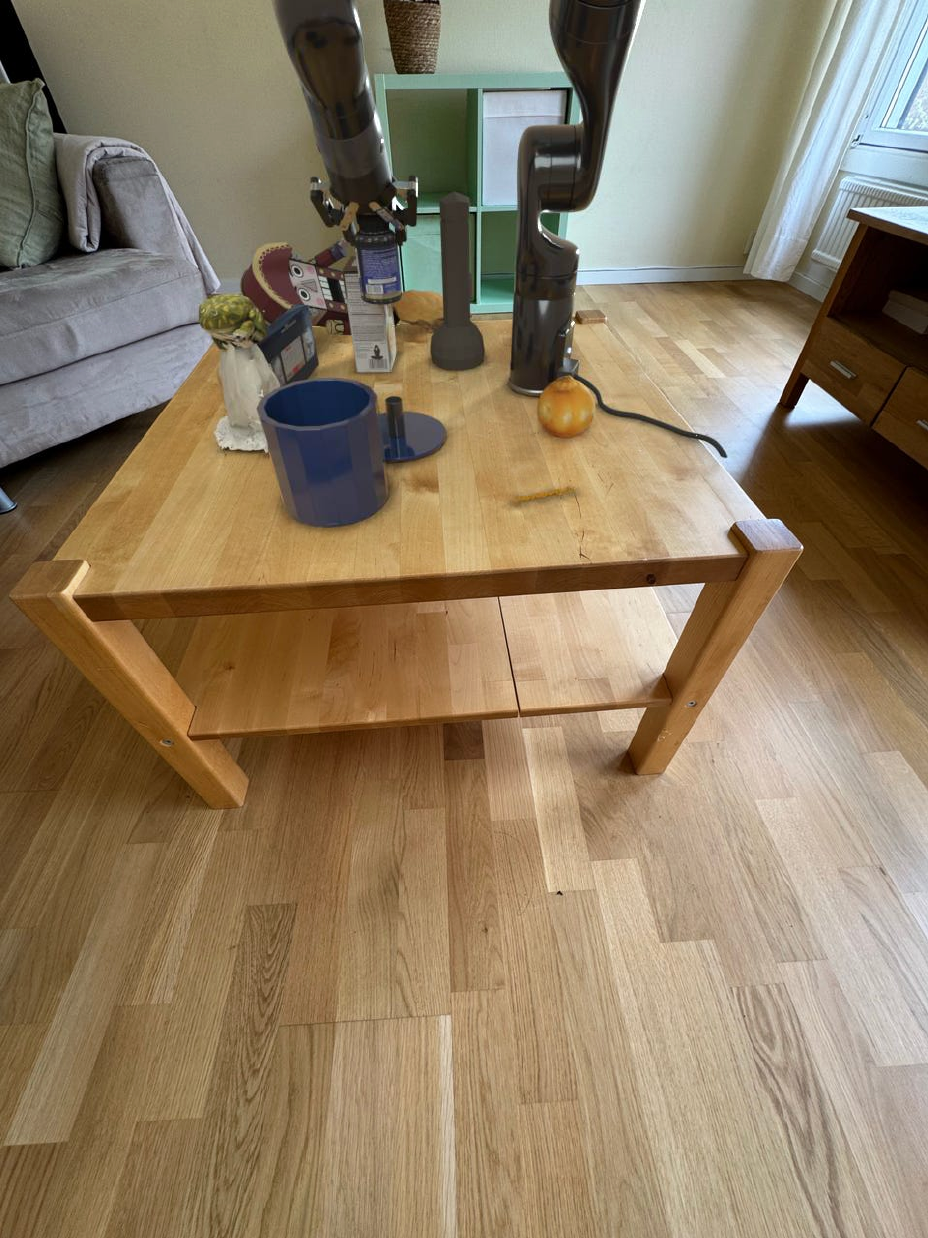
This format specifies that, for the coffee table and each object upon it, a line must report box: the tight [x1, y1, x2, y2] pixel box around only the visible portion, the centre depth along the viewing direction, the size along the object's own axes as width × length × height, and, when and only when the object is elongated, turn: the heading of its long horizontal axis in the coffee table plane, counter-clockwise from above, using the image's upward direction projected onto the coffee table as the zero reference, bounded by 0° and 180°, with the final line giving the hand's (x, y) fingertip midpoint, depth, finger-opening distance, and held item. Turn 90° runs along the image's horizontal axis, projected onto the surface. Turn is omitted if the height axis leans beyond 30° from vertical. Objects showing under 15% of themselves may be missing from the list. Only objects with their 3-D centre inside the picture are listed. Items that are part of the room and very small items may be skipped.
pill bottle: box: [354, 213, 403, 305], centre depth 82 cm, size 6×6×11 cm
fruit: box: [536, 376, 596, 438], centre depth 82 cm, size 8×8×8 cm
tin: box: [257, 377, 389, 528], centre depth 68 cm, size 13×13×12 cm
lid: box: [379, 395, 447, 463], centre depth 81 cm, size 14×14×6 cm
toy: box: [239, 237, 401, 336], centre depth 102 cm, size 14×13×30 cm
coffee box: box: [341, 255, 398, 373], centre depth 98 cm, size 9×6×16 cm
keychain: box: [514, 486, 573, 503], centre depth 72 cm, size 8×1×1 cm, turn 109°
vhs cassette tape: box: [257, 304, 320, 387], centre depth 93 cm, size 18×3×10 cm, turn 167°
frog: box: [197, 293, 280, 454], centre depth 78 cm, size 12×13×18 cm
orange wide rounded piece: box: [392, 289, 474, 334], centre depth 113 cm, size 17×4×10 cm
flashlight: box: [429, 190, 486, 371], centre depth 95 cm, size 10×25×10 cm
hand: (377, 239), depth 82 cm, fingers closed on pill bottle, 6 cm apart
